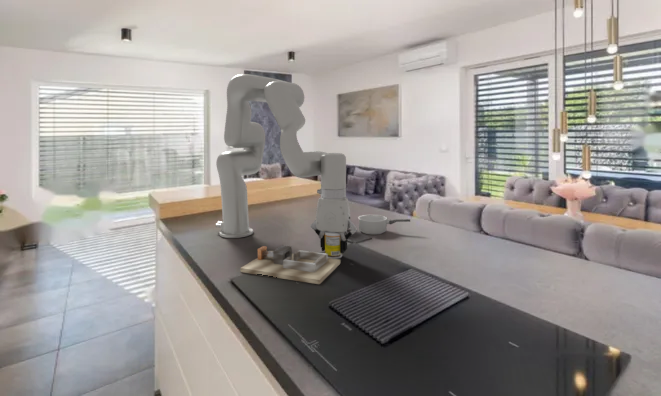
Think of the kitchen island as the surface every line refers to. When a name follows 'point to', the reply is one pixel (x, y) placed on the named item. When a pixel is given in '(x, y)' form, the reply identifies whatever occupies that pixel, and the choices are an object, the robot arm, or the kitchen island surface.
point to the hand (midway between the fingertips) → (333, 250)
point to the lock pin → (265, 253)
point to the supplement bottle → (333, 244)
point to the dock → (294, 265)
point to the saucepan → (376, 223)
